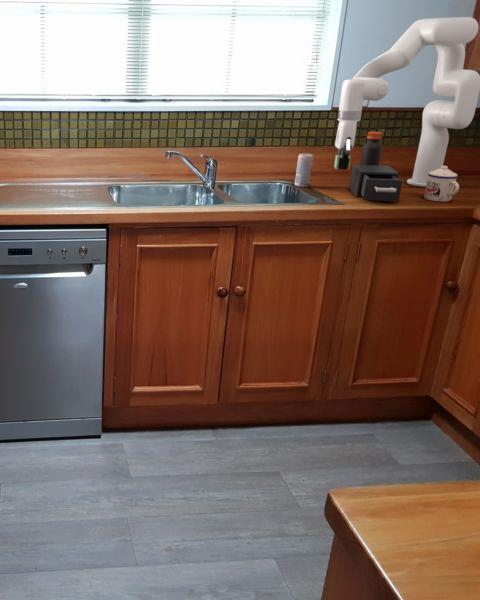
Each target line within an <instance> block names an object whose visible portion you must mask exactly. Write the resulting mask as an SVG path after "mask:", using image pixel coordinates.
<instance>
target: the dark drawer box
mask: <svg viewBox="0 0 480 600" xmlns="http://www.w3.org/2000/svg"><path fill="white" fill-rule="evenodd" d="M362 174H375V175H393V176H395V177H396V178H397V179H399V175H400V173H399V172H398V171H397V170H395V169H394V168H393V167H391V166H390V165H379V166H377V165H360V164H352V168H351V174H350V179H349V185H348V189H349V191H350V192H351V193H352V194H353V195H354V196H355V197H356V198H363V196H362V195H361V194H360V193H359V191H360V186H361V180H362Z"/></svg>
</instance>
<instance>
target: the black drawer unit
mask: <svg viewBox="0 0 480 600" xmlns="http://www.w3.org/2000/svg"><path fill="white" fill-rule="evenodd" d="M403 182H404V180H403V179H399V178H398V179H397V178H396V177H395V176H393V175H375V174H362V180H361V186H360V191H359V193H360V194H361V195H362V196H363V197H362V200H363V201H377V202H379V201H380V202H395V203H396V202H397V203H398V202H400V198H401V193H402V188H403V187H402V186H403V184H404V183H403Z"/></svg>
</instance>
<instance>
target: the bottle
mask: <svg viewBox="0 0 480 600" xmlns="http://www.w3.org/2000/svg"><path fill="white" fill-rule="evenodd" d="M382 137H383V132H380V131H368V132H367V135H366V141H367V142H365V143H364V144H363V145H362V150H361V153H360V161H359V165H377V166H380V162H381V156H382V151H383V145H382V144H381V140H382Z"/></svg>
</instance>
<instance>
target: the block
mask: <svg viewBox="0 0 480 600" xmlns="http://www.w3.org/2000/svg"><path fill="white" fill-rule="evenodd" d="M340 158H341V155H338V154H335V158H334V165H333V167H334V169H335V170H339V169H338V166H339V159H340ZM351 161H352V157H351V156H350V157H349V164H348V169H340V170H342V171H343V170H345V171H349V170H350V168H351V167H350V166H351Z"/></svg>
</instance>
